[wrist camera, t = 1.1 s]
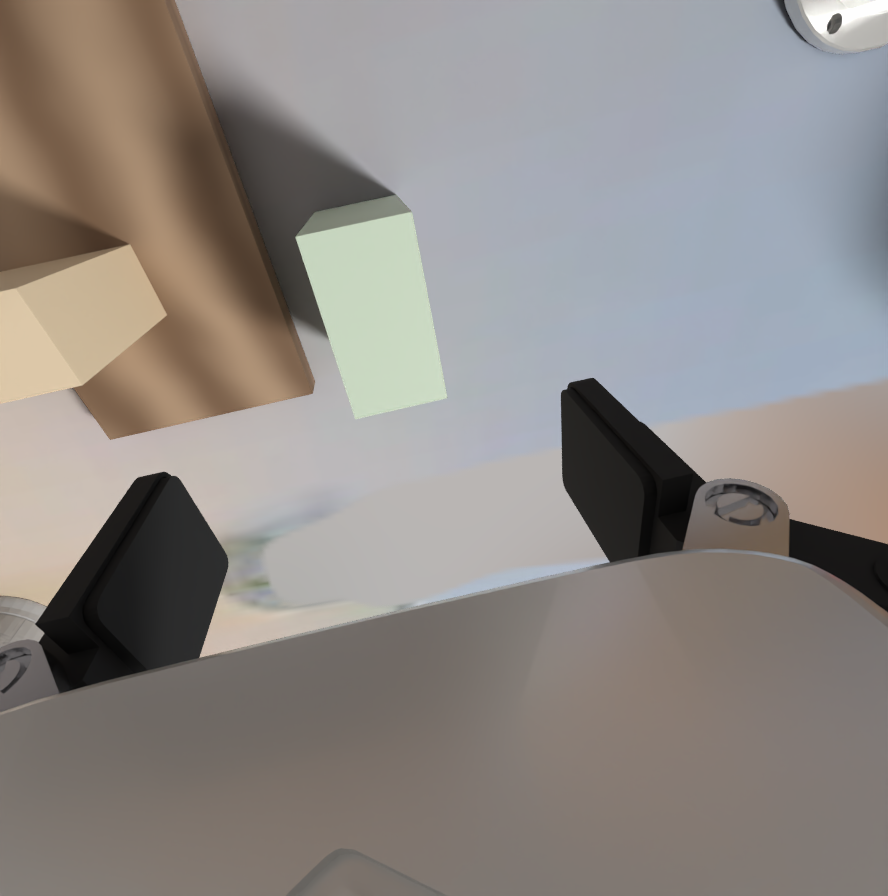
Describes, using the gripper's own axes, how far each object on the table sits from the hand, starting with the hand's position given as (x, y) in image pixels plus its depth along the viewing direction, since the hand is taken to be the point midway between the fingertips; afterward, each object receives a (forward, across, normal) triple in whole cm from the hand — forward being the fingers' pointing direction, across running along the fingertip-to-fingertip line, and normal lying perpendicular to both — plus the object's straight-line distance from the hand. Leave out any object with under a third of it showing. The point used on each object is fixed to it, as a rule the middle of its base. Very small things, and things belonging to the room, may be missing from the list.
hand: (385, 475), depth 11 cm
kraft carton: (+20, +16, -2) cm, 26 cm away
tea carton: (+22, 0, 0) cm, 22 cm away
